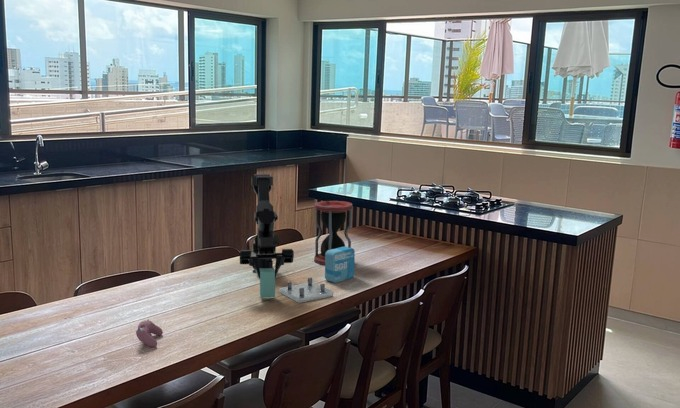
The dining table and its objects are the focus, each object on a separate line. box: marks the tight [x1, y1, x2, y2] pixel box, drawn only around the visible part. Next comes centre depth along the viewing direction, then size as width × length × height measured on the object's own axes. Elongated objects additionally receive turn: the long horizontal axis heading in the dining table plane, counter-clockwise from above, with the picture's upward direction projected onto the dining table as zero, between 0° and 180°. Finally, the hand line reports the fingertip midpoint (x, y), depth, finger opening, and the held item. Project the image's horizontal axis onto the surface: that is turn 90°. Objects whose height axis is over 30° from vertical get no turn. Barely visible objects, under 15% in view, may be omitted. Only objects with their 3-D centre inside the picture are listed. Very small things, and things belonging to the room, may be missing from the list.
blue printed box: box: [324, 245, 356, 284], centre depth 235 cm, size 12×4×12 cm, turn 136°
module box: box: [259, 267, 276, 299], centre depth 210 cm, size 5×5×9 cm
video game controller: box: [135, 319, 164, 348], centre depth 174 cm, size 10×5×7 cm, turn 6°
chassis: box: [278, 277, 334, 304], centre depth 217 cm, size 14×14×4 cm
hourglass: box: [313, 200, 353, 266], centre depth 259 cm, size 16×16×25 cm
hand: (267, 278), depth 209 cm, fingers closed on module box, 5 cm apart
